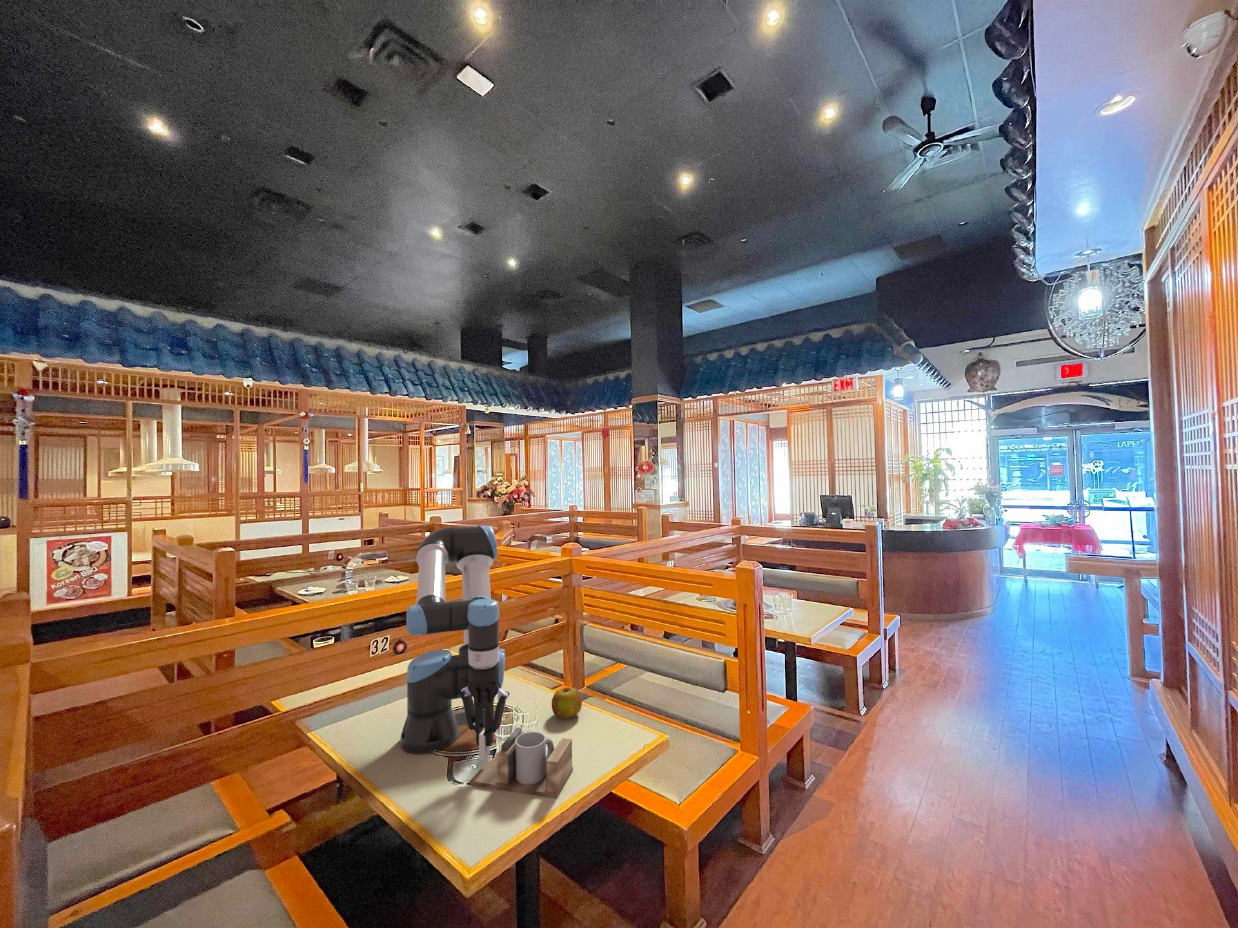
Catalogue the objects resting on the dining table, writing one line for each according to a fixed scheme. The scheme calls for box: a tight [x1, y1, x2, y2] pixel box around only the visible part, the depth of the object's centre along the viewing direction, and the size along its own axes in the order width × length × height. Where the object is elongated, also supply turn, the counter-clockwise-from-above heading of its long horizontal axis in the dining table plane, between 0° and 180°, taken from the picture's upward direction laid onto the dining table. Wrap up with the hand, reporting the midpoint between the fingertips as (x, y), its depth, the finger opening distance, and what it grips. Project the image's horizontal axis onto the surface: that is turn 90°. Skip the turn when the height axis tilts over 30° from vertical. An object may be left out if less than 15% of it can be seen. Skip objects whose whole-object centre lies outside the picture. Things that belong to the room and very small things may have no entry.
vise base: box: [469, 737, 574, 799], centre depth 123 cm, size 22×11×8 cm, turn 76°
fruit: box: [551, 686, 583, 720], centre depth 153 cm, size 10×9×8 cm
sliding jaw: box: [496, 726, 526, 784], centre depth 124 cm, size 3×10×9 cm, turn 166°
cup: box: [515, 731, 555, 785], centre depth 123 cm, size 7×10×9 cm
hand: (484, 757), depth 126 cm, fingers closed
